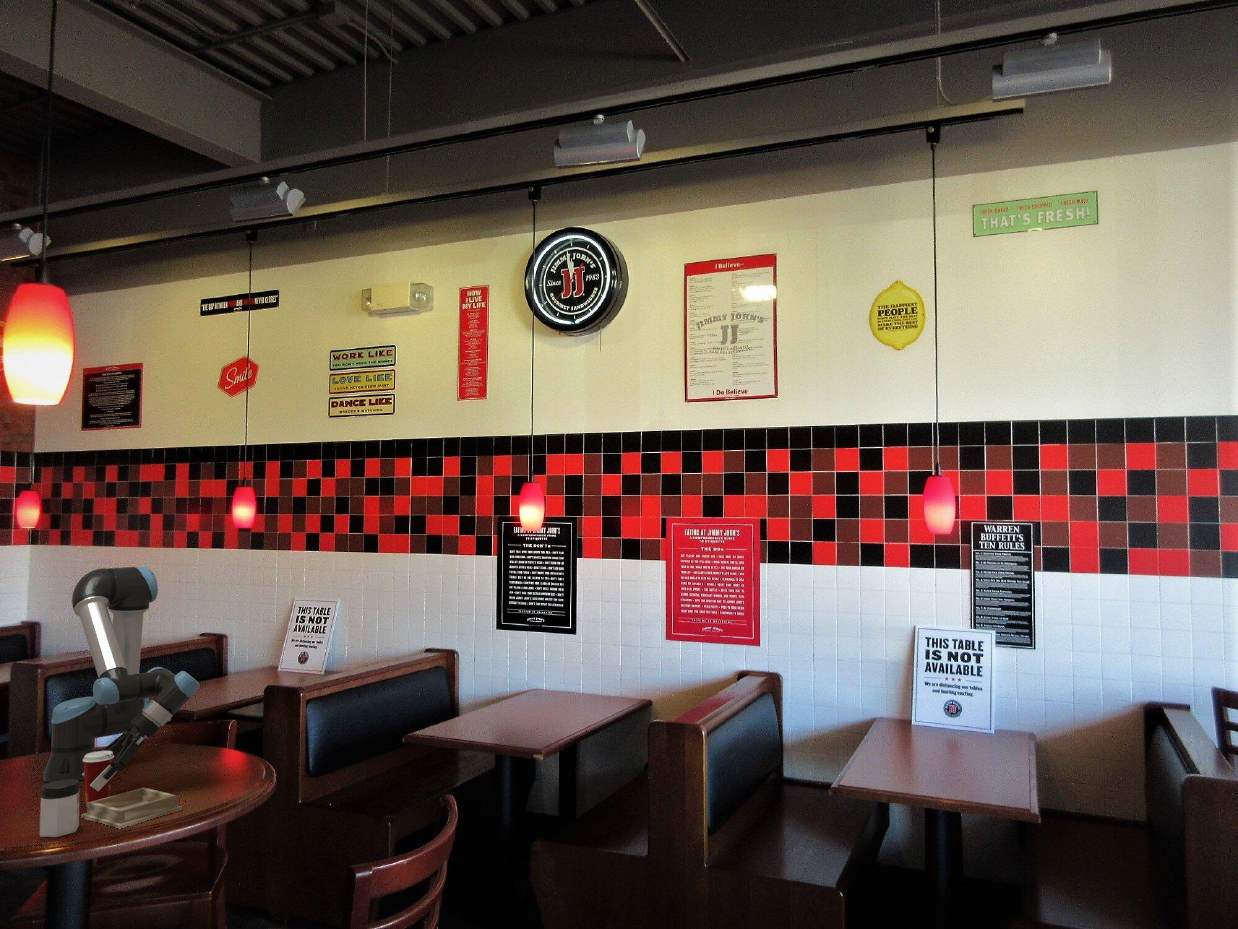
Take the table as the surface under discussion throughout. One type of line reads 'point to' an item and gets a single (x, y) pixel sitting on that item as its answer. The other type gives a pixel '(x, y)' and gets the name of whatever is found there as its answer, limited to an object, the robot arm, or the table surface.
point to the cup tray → (131, 807)
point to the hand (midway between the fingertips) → (89, 783)
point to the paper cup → (96, 774)
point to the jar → (59, 808)
